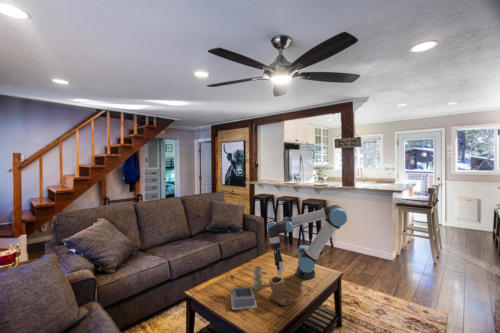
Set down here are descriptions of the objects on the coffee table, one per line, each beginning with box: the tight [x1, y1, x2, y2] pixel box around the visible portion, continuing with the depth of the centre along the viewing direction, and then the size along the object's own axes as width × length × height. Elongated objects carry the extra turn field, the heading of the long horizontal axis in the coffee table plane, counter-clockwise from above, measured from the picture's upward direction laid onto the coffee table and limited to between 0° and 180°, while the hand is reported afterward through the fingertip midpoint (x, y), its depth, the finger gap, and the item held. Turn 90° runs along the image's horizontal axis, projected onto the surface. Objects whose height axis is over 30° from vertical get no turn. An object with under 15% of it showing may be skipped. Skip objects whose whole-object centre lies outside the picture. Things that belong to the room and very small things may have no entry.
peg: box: [252, 265, 263, 291], centre depth 174 cm, size 6×6×15 cm
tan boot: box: [268, 275, 295, 306], centre depth 159 cm, size 15×12×15 cm
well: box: [230, 286, 258, 311], centre depth 159 cm, size 16×16×6 cm
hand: (281, 272), depth 177 cm, fingers open, 13 cm apart
